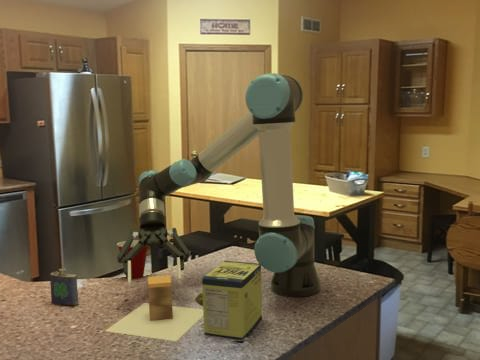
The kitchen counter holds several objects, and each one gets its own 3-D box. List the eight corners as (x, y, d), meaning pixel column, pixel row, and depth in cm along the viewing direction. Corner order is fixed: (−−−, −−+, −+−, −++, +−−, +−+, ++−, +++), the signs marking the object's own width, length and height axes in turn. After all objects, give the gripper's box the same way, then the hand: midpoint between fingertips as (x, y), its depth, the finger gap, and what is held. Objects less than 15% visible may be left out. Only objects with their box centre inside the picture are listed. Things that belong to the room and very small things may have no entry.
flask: (80, 303, 154) (78, 268, 153) (74, 307, 152) (71, 271, 150) (55, 300, 158) (52, 265, 156) (48, 303, 155) (45, 268, 154)
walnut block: (171, 310, 145) (170, 275, 144) (172, 318, 139) (171, 282, 138) (149, 312, 144) (147, 277, 143) (149, 320, 138) (148, 284, 137)
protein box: (262, 319, 140) (261, 262, 138) (243, 344, 126) (241, 281, 123) (226, 314, 144) (224, 259, 142) (203, 338, 129) (201, 277, 127)
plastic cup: (154, 271, 183) (153, 237, 182) (146, 281, 173) (144, 246, 171) (124, 271, 184) (122, 237, 183) (114, 281, 174) (112, 246, 172)
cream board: (209, 313, 145) (208, 310, 144) (176, 345, 126) (176, 341, 126) (144, 306, 151) (144, 302, 151) (104, 334, 133) (104, 331, 133)
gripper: (193, 221, 162) (199, 284, 150) (110, 226, 158) (109, 291, 146) (194, 208, 156) (200, 272, 144) (108, 212, 152) (107, 279, 140)
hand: (154, 282), depth 145 cm, fingers open, 13 cm apart
